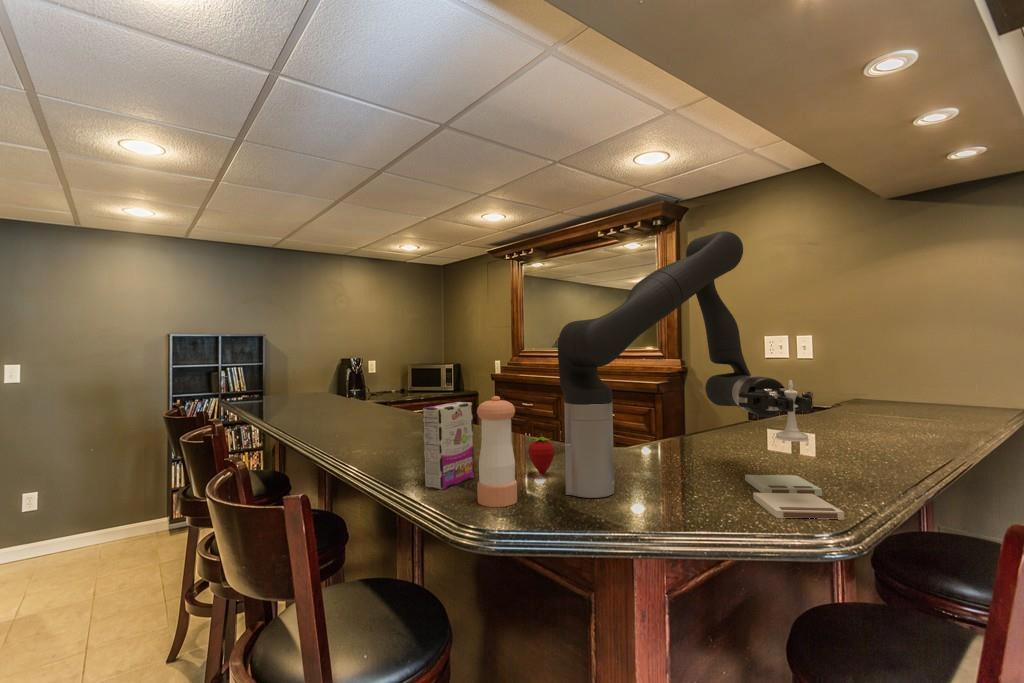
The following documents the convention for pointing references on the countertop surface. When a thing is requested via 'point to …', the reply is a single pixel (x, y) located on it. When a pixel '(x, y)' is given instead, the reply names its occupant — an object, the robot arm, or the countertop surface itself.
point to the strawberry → (541, 453)
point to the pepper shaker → (496, 455)
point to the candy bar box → (448, 444)
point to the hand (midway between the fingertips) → (799, 405)
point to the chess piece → (791, 421)
